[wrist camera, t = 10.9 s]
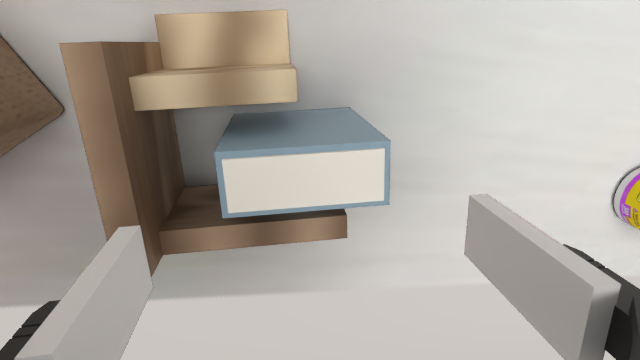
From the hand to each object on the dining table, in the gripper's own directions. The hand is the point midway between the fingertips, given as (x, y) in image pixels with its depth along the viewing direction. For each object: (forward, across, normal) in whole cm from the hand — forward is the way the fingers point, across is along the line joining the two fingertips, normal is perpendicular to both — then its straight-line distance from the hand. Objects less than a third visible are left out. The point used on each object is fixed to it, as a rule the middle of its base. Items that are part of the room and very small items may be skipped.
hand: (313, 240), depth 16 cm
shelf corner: (+20, -4, +1) cm, 21 cm away
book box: (+20, +1, 0) cm, 20 cm away
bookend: (+20, -4, +7) cm, 22 cm away
